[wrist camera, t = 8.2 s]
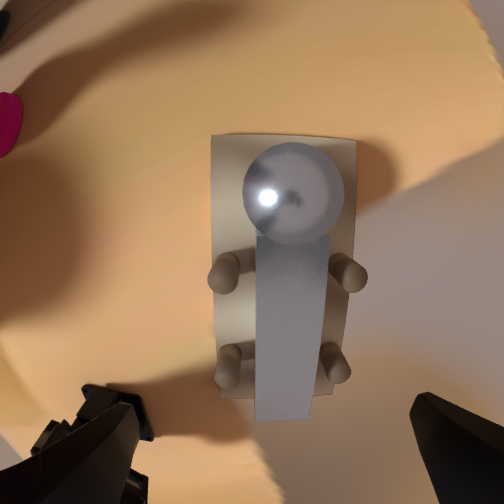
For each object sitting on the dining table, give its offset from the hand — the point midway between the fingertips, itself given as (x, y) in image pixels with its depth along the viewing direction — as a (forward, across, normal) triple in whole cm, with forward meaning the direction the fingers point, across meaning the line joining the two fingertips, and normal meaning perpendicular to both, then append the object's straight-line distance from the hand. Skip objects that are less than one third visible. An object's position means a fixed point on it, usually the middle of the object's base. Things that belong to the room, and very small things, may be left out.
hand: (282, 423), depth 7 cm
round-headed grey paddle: (+11, -1, 0) cm, 11 cm away
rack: (+12, -1, 0) cm, 12 cm away
